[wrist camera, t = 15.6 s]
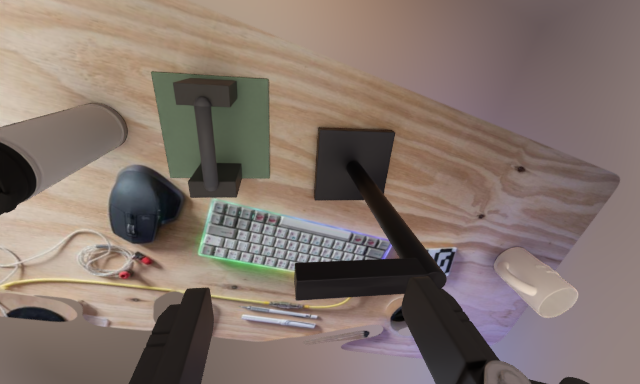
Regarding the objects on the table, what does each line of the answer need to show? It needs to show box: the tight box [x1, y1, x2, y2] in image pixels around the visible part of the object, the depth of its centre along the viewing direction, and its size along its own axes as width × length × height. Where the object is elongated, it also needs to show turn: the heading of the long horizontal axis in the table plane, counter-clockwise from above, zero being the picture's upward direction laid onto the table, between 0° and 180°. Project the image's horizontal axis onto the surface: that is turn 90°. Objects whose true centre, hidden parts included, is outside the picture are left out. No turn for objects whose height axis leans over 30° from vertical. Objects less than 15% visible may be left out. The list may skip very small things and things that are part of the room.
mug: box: [494, 247, 578, 318], centre depth 56 cm, size 8×12×12 cm
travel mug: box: [0, 103, 127, 215], centre depth 29 cm, size 6×7×20 cm
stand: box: [294, 127, 446, 300], centre depth 34 cm, size 12×17×27 cm
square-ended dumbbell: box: [173, 78, 242, 198], centre depth 37 cm, size 14×6×8 cm, turn 176°
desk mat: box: [151, 72, 270, 178], centre depth 40 cm, size 15×15×1 cm
